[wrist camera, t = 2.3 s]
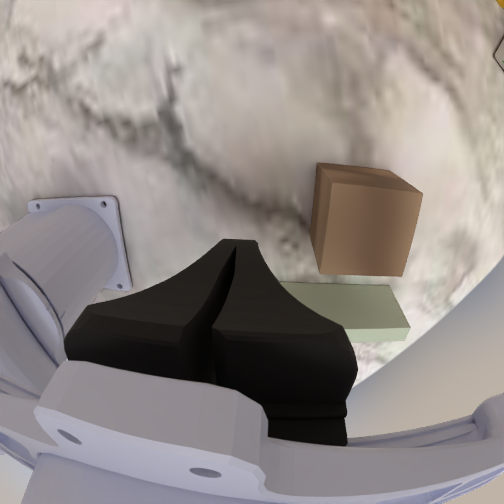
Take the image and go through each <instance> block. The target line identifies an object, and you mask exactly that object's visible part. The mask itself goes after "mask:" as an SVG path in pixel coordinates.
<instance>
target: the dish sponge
mask: <svg viewBox="0 0 504 504" xmlns="http://www.w3.org/2000/svg"><path fill="white" fill-rule="evenodd" d="M496 1H497V2H498V4H499V5H500V6H501V7H502V8H504V0H496Z"/></svg>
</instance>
